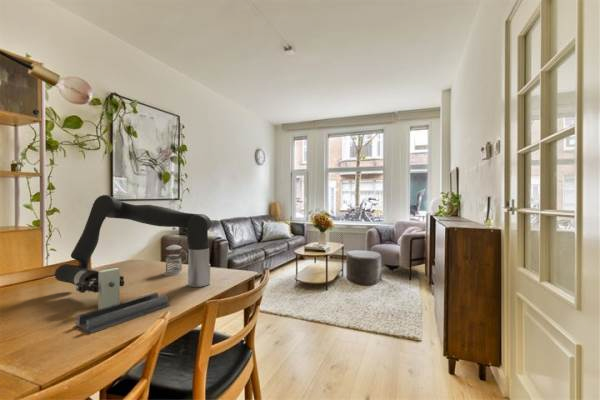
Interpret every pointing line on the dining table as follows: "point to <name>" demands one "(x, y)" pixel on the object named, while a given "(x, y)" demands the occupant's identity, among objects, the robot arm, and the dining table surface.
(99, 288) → the door panel
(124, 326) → the dining table surface
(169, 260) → the french press
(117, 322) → the track
